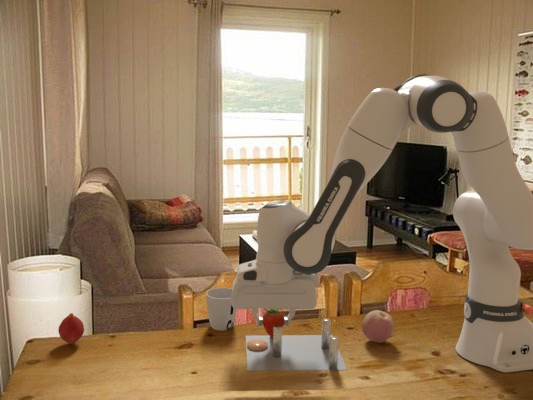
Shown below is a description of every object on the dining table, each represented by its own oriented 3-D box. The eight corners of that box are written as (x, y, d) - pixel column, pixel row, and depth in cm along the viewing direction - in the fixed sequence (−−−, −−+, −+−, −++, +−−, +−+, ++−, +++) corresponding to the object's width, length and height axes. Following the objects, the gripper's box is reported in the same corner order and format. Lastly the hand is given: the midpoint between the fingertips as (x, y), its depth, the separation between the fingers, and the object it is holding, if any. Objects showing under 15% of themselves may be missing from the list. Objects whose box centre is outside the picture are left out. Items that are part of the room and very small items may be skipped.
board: (332, 338, 140) (332, 335, 140) (346, 373, 123) (347, 369, 123) (245, 339, 139) (245, 335, 139) (247, 375, 121) (247, 370, 121)
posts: (324, 335, 140) (325, 308, 139) (338, 369, 123) (339, 340, 121) (269, 335, 139) (270, 309, 138) (275, 370, 122) (275, 340, 120)
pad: (267, 341, 136) (267, 339, 136) (268, 350, 131) (268, 348, 131) (246, 341, 135) (246, 339, 135) (247, 351, 131) (247, 348, 130)
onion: (53, 346, 133) (52, 315, 131) (70, 337, 138) (69, 306, 136) (73, 351, 131) (71, 319, 129) (89, 341, 136) (88, 310, 134)
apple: (379, 352, 134) (381, 320, 132) (355, 341, 139) (356, 311, 138) (399, 342, 139) (401, 312, 138) (374, 332, 145) (376, 303, 143)
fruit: (287, 337, 133) (289, 305, 132) (274, 343, 129) (275, 311, 128) (270, 330, 136) (271, 299, 135) (256, 337, 133) (257, 305, 131)
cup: (232, 337, 140) (233, 300, 138) (202, 334, 141) (202, 297, 140) (240, 324, 148) (241, 289, 146) (211, 321, 149) (211, 286, 147)
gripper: (316, 265, 134) (314, 319, 136) (231, 265, 132) (230, 320, 135) (320, 274, 127) (318, 330, 130) (231, 273, 126) (230, 330, 128)
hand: (273, 325), depth 132 cm, fingers closed on fruit, 5 cm apart
